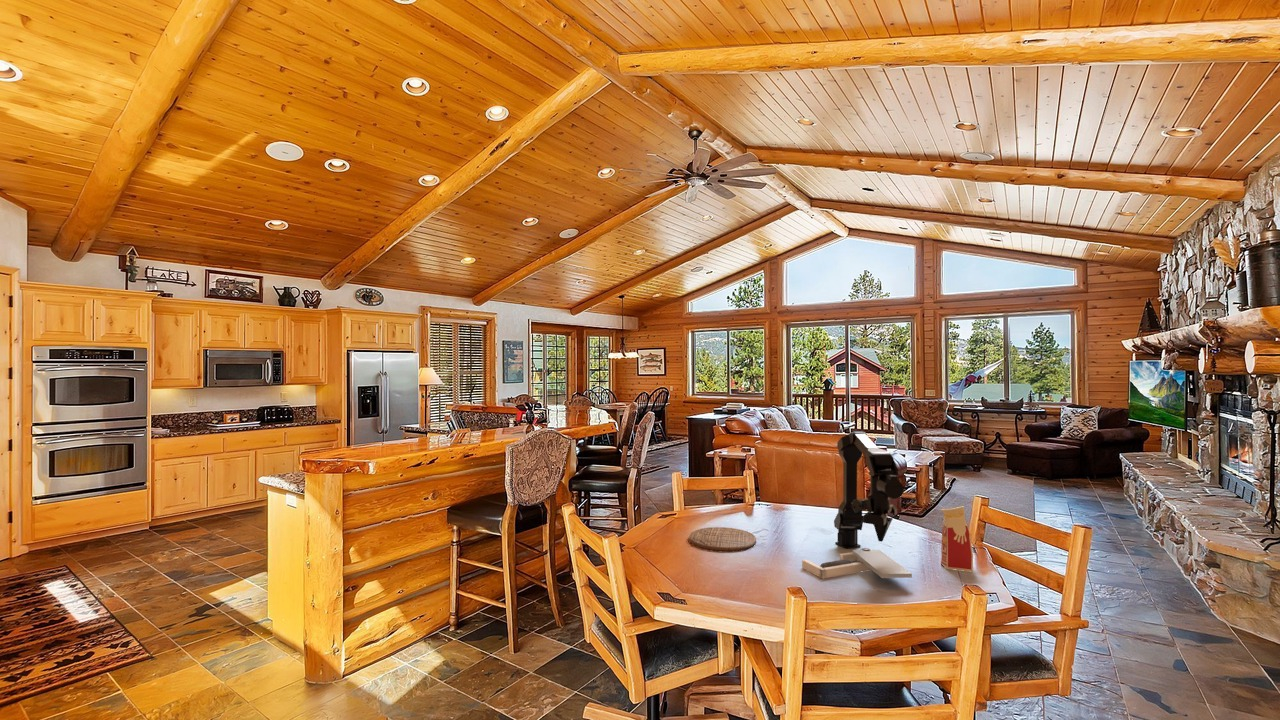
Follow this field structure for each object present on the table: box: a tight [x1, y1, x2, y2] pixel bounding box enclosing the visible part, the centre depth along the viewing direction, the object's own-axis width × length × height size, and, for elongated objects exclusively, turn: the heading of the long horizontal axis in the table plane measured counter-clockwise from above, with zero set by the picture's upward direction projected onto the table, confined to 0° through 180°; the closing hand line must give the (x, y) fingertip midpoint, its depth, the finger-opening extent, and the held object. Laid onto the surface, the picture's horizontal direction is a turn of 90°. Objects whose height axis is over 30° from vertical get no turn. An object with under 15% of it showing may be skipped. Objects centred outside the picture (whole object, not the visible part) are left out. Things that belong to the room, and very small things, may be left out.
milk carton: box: [940, 505, 974, 573], centre depth 189 cm, size 9×9×20 cm
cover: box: [852, 547, 913, 579], centre depth 181 cm, size 23×9×1 cm, turn 2°
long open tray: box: [801, 551, 873, 580], centre depth 187 cm, size 23×10×3 cm, turn 112°
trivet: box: [688, 526, 757, 553], centre depth 216 cm, size 25×25×2 cm
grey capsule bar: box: [819, 559, 853, 568], centre depth 185 cm, size 12×3×3 cm, turn 112°
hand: (880, 541), depth 182 cm, fingers closed
